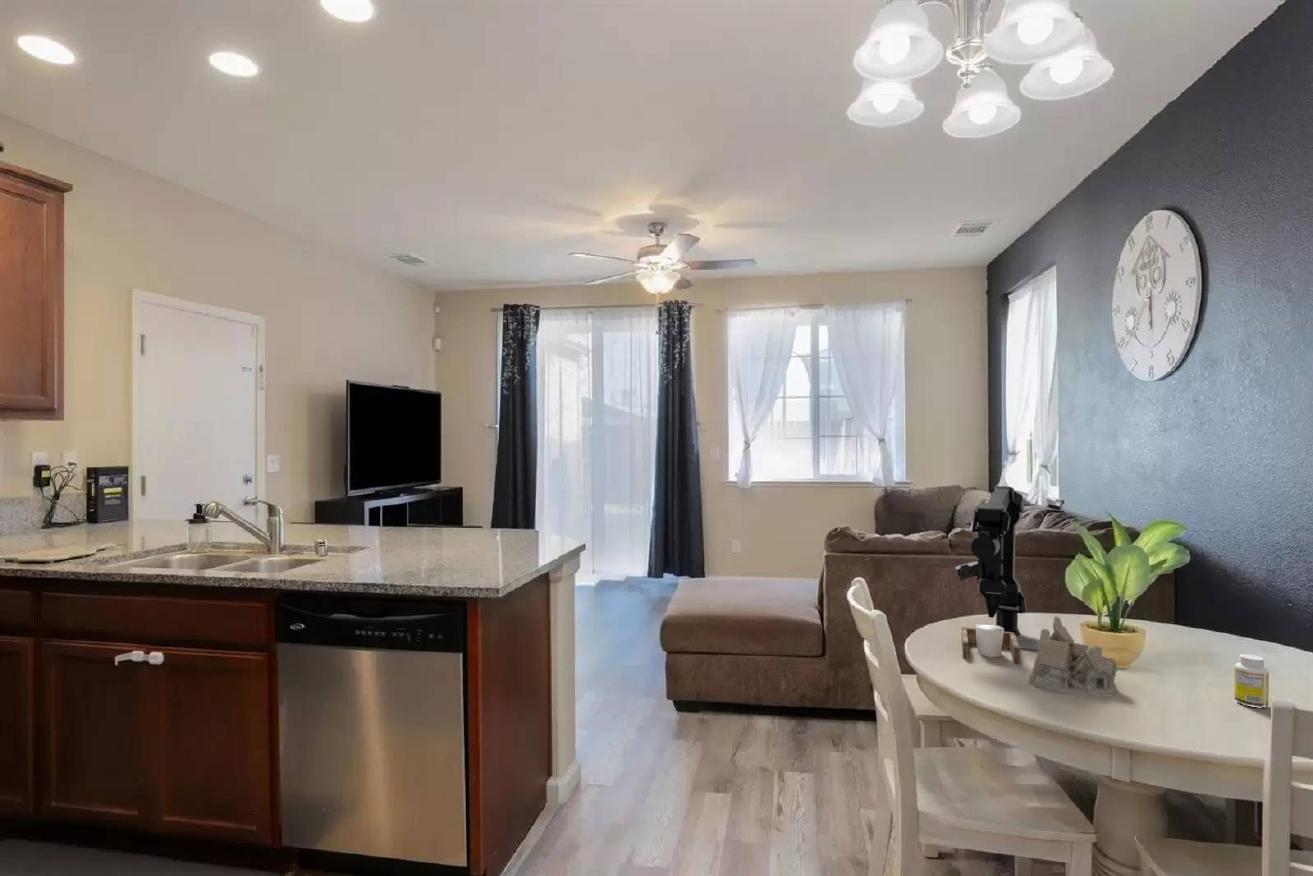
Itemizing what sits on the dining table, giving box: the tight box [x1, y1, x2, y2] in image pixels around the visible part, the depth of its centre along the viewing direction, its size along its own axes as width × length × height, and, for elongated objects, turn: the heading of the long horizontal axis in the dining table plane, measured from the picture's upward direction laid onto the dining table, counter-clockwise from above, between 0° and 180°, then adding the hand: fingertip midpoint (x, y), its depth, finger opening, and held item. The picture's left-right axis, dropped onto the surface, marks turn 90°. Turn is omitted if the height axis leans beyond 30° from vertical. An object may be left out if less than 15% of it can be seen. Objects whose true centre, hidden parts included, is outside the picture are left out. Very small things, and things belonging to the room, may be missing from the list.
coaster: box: [1016, 637, 1039, 653], centre depth 189 cm, size 9×9×1 cm
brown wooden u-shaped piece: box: [961, 626, 1021, 665], centre depth 183 cm, size 16×13×4 cm
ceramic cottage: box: [1028, 616, 1118, 697], centre depth 159 cm, size 16×16×15 cm
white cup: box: [974, 623, 1004, 658], centre depth 183 cm, size 7×7×7 cm
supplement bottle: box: [1234, 653, 1270, 707], centre depth 149 cm, size 6×6×10 cm
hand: (990, 613), depth 183 cm, fingers open, 9 cm apart
